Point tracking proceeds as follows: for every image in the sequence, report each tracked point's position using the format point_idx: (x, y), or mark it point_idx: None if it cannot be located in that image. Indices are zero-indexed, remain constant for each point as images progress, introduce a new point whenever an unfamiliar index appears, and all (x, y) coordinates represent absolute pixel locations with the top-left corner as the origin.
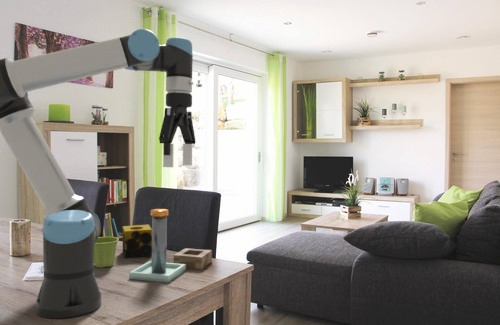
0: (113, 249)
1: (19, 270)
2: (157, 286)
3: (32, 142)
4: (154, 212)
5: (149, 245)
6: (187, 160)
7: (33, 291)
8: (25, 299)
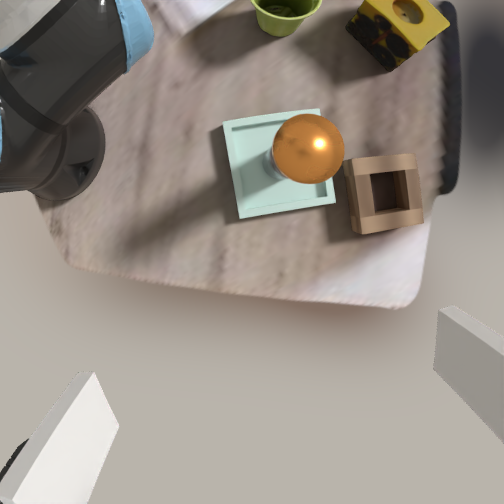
0: (285, 24)
1: None
2: (208, 210)
3: None
4: (273, 148)
5: (395, 59)
6: (455, 361)
7: None
8: None
